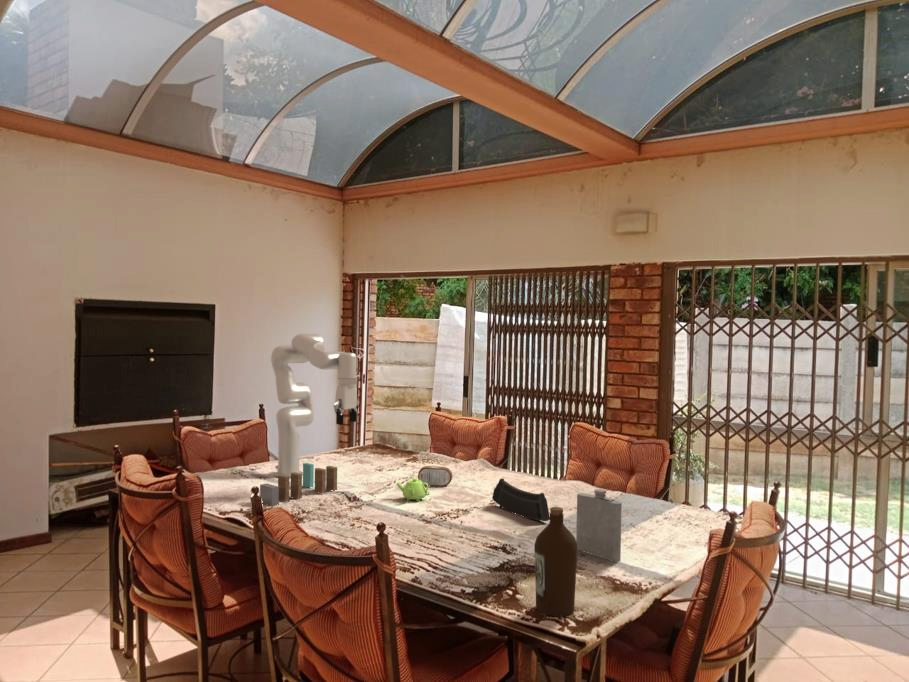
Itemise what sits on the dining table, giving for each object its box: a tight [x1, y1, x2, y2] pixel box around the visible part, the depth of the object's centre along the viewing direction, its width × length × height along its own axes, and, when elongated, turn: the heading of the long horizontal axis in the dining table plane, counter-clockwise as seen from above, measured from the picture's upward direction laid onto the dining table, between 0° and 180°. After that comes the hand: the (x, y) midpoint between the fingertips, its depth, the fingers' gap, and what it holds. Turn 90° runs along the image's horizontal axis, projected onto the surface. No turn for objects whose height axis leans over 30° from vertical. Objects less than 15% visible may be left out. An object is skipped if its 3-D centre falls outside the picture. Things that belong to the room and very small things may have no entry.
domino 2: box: [290, 472, 303, 500], centre depth 280 cm, size 2×5×10 cm, turn 49°
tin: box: [417, 465, 453, 487], centre depth 305 cm, size 15×3×8 cm, turn 84°
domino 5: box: [325, 465, 338, 492], centre depth 293 cm, size 2×5×10 cm, turn 49°
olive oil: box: [533, 506, 579, 617], centre depth 172 cm, size 11×11×25 cm
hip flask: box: [575, 488, 623, 562], centre depth 215 cm, size 16×4×20 cm, turn 41°
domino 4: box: [314, 467, 327, 494], centre depth 289 cm, size 2×5×10 cm, turn 49°
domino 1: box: [277, 474, 290, 503], centre depth 275 cm, size 2×5×10 cm, turn 49°
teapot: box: [396, 477, 430, 502], centre depth 280 cm, size 11×12×8 cm
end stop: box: [259, 482, 280, 507], centre depth 270 cm, size 8×3×7 cm, turn 49°
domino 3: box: [302, 462, 315, 488], centre depth 299 cm, size 2×5×10 cm, turn 49°
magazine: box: [492, 478, 550, 522], centre depth 260 cm, size 17×3×30 cm
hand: (346, 422), depth 293 cm, fingers open, 9 cm apart
